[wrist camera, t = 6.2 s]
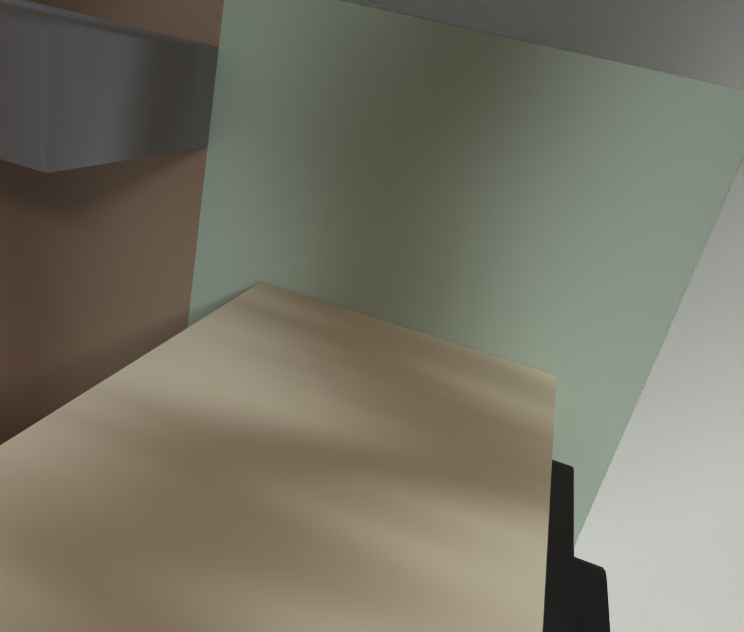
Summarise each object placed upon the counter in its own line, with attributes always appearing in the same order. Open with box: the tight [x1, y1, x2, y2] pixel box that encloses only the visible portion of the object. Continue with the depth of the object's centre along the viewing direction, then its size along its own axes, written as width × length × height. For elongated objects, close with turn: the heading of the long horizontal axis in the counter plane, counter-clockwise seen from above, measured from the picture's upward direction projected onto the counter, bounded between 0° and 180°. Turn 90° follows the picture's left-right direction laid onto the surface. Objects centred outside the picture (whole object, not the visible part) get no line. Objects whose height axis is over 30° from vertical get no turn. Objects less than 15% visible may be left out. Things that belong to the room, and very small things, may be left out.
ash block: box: [0, 282, 557, 632], centre depth 8 cm, size 5×5×7 cm
